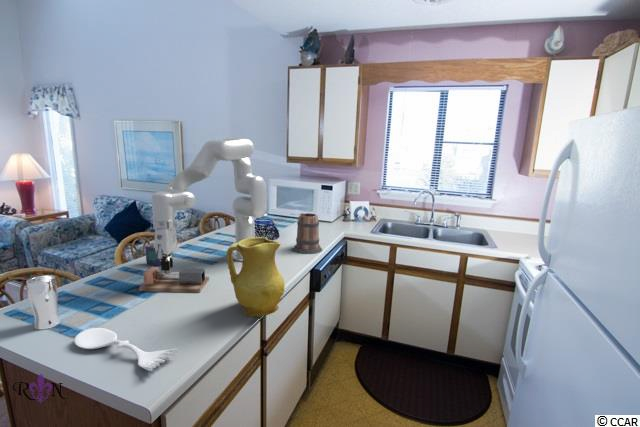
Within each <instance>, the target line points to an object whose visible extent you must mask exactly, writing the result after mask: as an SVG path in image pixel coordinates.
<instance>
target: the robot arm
mask: <svg viewBox="0 0 640 427" xmlns="http://www.w3.org/2000/svg"><path fill="white" fill-rule="evenodd" d="M254 146H255V145H254V144H253V142H252V140H251V139H248V138H239V137H238V138H237V137H236V138H235V137H227V138H224V139H220V140H219V139H217V140H216V139H212V140H208V141H206V142H205V143H204V144H203V146H202V147H201V149H200V150H199V152H198V153H197V154H196V156H195V158H194V159H193V161H192V162H191V163H190V165H188V166H187V167H186V168H184V169H183V170H181V171H180V172H178V174H177V175H175V176H174V177H173V178H172V179H171V180H170V181H169V183H168V185H166V187H165V189H164V190H163V191H158V192H157V191H156V192H154V193H152V195H151V208H152V209H151V210H152V224H153V229H154V243H155V252H156V254H157V255H158V259H160V261H161V266H160V270H161V272H164V271H169V270H170V271H171V269H172V268H173V267H174V264H173V263H174V261H173V258H174V256H173V255H174V254H173V252H174V251H175V250H177V248H178V240H177V239H178V238H177V232H176V221H175V210H179V211H180V210H181V211H182V210H185V211H186V210H190V209H192V208H193V207H194V206H195V204H196V197H195V195H194V194H193V193H192V191H188V190H187V189H188V188H189V187H190V186H192V185H194V184H197V183H198V182H202V181H203V180H206V179H208V178H209V177H210V175H211V174H212V172H213V170H214V169H215V167H216V166H217V164H218V163H219V162H220V161H222V162H223V161H225V162H228V161H229V162H230V161H231V163H232V166H233V178H234V180H233V181H234V189H235V191H236V192H237V193H239V194H242V195H240V196H237V197H236V198H234V200H233V203H232V210H233V215H234V227H235V233H234V234H235V243H238V242H239V241H241V240H243V239H247V238H253V237H255V236H256V234H255V232H256V231H255V230H256V229H255V224H256V223H254V220H255V219H254V218H264V217H263V216H264V215H265V214H267V213H266V212H267V210H268V209H267V207H268V204H267V202H268V201H267V199H268V198H267V184H266V182H265V179H264V178H263V177H262V176H260V175H257V174H256V175H255V174H254V175H253V170H252V169H253V168H252V160H251V159H250V157H251V156H252V155H253V154H254V151H255V147H254ZM243 194H244V195H243ZM247 195H248V196H247ZM249 195H250V196H249ZM165 256H166V257H165ZM168 256H169V257H170V262H169V261H168ZM232 257H233V261H238V262H243V256H242V255H241V254H240V252H239V251H236V250H235V253H233V254H232Z"/></svg>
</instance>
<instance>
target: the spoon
mask: <svg viewBox="0 0 640 427" xmlns="http://www.w3.org/2000/svg"><path fill="white" fill-rule="evenodd" d="M129 342H130V341H129V340H119V339H118V334H117V333H116V332H115V331H113V330H111V329H109V328H103V327H91V328H88V329H85V330H82V331H80V332H78V334H76V336H75V337H74V338H73V344H75V346H76V347H79V348H81V349H85V350H94V349H99V348H105V347H108V346H112V345H117V346H116V347H117V348H118V349H121V348H123V349H124V348H126V349H129V350H130V351H132V352H133V354H135V355H136V358H137V365H138V367H140V368H142V369H144V370H146V371H148V372H153V369H156V368H157V367H159V366H161V365H160V364H163V363H165V362H166V360H168V359H170V358H171V357H172V356H174V353H178V352H179V349H178V348H170V349H166V350H155V351H144V350H142V349H140V348H139V347H138V346H135V345H134V344H131V343H129Z"/></svg>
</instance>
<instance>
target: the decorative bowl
mask: <svg viewBox="0 0 640 427" xmlns="http://www.w3.org/2000/svg"><path fill="white" fill-rule="evenodd" d="M254 223H255V237H266V238H267V239H268V240H272V241H276V240H277V239H279V238H280V232H279V229H278V228H277V226H275V223H274V221H273V220H272V219H271V217H270V216H268V214H267V213H265V215H264V216H263V217H260V218H256V219H254ZM263 233H265V234H263Z"/></svg>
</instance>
